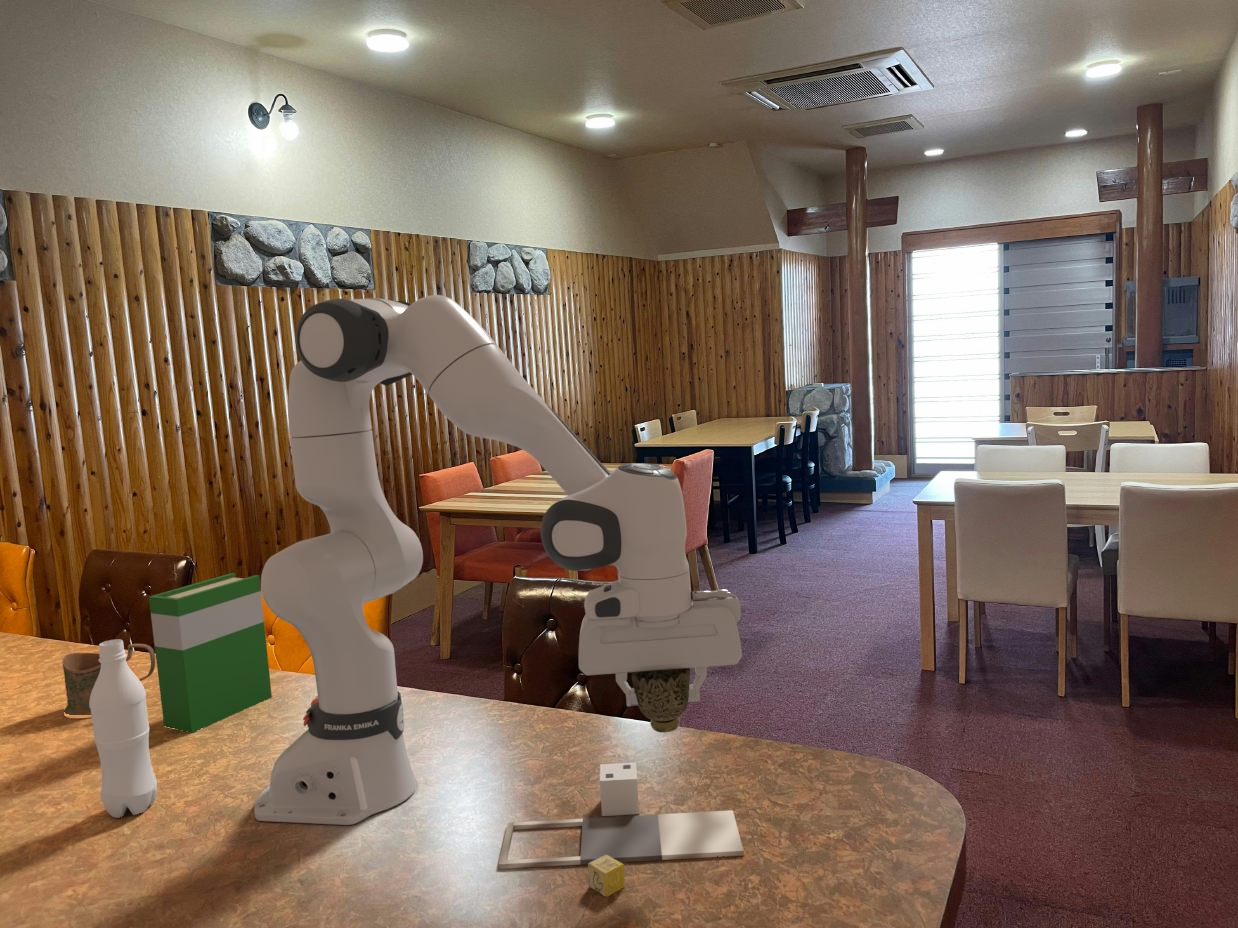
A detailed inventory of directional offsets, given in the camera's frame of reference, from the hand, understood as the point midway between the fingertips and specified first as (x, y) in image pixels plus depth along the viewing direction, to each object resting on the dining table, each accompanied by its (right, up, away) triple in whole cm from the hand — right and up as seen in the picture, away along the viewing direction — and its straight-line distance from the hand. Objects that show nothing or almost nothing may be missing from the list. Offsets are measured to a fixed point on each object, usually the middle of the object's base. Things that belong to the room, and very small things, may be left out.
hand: (663, 702), depth 114 cm
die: (-5, -17, +11) cm, 21 cm away
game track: (-5, -18, +3) cm, 19 cm away
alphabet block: (-7, -20, -7) cm, 22 cm away
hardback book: (-79, -16, +55) cm, 98 cm away
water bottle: (-76, -21, +18) cm, 81 cm away
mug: (-102, -17, +61) cm, 121 cm away
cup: (0, -4, 0) cm, 4 cm away
